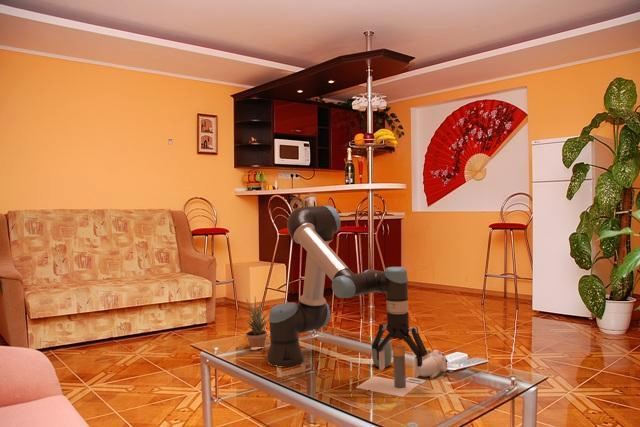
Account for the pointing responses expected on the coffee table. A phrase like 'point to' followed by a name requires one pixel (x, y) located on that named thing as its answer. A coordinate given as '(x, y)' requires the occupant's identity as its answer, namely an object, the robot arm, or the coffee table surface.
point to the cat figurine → (433, 364)
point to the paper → (386, 386)
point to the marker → (399, 366)
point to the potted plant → (256, 328)
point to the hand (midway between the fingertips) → (399, 372)
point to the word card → (415, 380)
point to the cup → (387, 353)
